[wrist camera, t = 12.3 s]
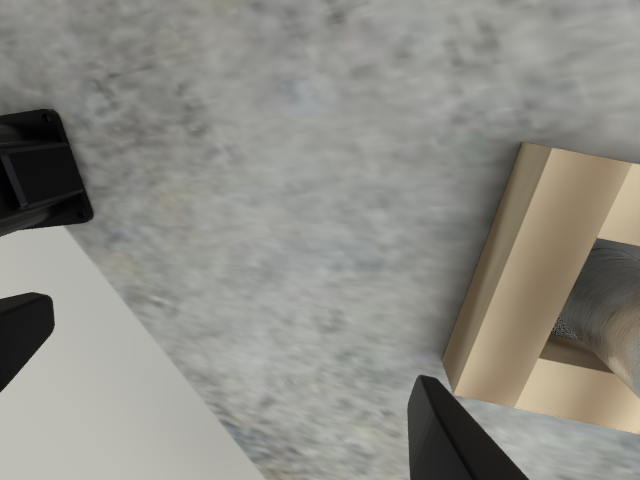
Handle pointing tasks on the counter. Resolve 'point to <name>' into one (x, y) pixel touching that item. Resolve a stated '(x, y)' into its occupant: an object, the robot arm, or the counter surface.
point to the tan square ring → (545, 290)
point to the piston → (608, 312)
